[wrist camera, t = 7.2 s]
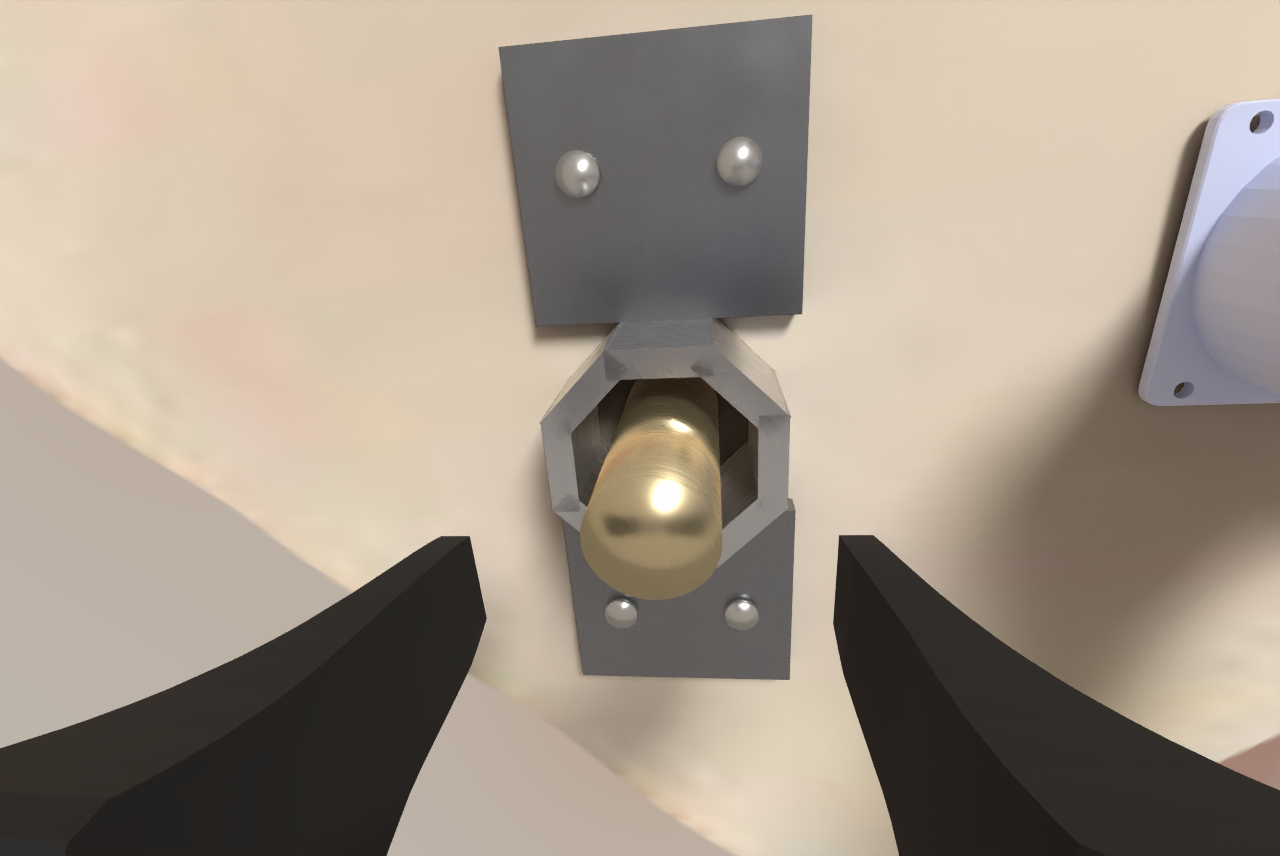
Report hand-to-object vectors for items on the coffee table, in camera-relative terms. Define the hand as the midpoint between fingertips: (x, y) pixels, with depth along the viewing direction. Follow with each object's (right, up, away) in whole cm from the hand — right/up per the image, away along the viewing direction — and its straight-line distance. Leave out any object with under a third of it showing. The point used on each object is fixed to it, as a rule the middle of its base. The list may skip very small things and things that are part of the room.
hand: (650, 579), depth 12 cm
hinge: (+1, +3, +8) cm, 9 cm away
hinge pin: (+1, +4, +8) cm, 9 cm away
